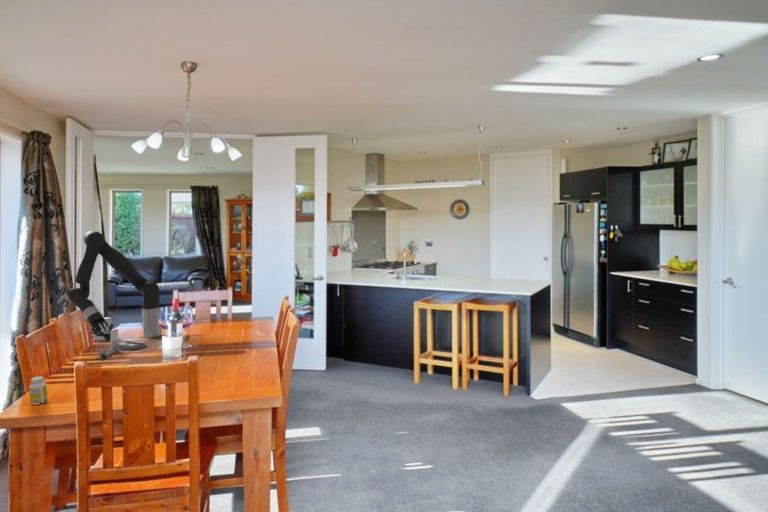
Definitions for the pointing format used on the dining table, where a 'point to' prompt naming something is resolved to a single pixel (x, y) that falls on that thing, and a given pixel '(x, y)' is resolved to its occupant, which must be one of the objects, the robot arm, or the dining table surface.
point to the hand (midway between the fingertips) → (110, 340)
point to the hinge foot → (103, 357)
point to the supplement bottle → (38, 390)
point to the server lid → (131, 345)
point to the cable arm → (113, 344)
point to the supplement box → (109, 321)
